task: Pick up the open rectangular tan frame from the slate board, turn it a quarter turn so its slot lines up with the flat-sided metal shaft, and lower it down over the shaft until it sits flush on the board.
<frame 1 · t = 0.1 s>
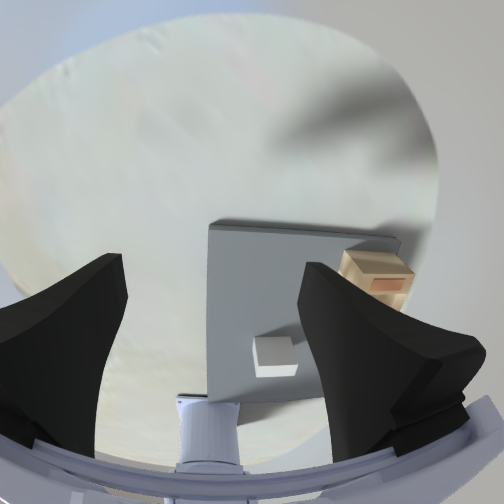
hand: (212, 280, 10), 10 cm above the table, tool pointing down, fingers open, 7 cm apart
board: (289, 335, 26), on the table
open rectangular tan frame: (357, 291, 23), point 1 cm above the table, touching board
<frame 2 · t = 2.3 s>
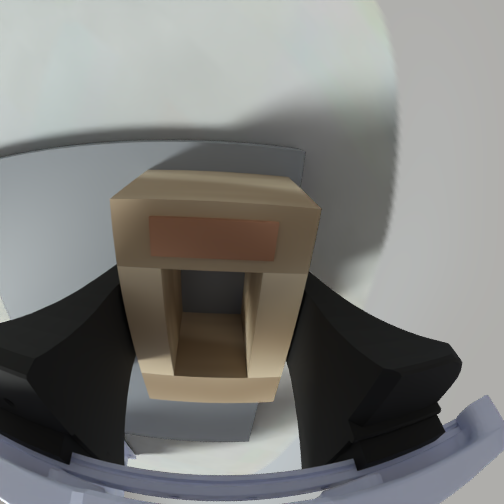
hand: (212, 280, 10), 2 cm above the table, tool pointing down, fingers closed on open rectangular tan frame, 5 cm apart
board: (126, 346, 14), on the table
open rectangular tan frame: (212, 271, 11), point 1 cm above the table, touching board, gripper
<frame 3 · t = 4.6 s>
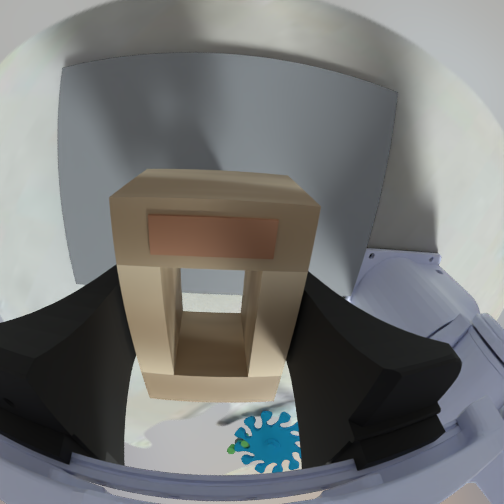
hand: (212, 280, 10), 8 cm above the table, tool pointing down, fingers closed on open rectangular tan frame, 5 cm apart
board: (218, 180, 17), on the table
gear: (264, 420, 32), on the table
open rectangular tan frame: (212, 270, 11), point 8 cm above the table, touching gripper
when the fingers open (3 cm above the table, at t = 7.1 s): open rectangular tan frame stays where it is, resting on board.
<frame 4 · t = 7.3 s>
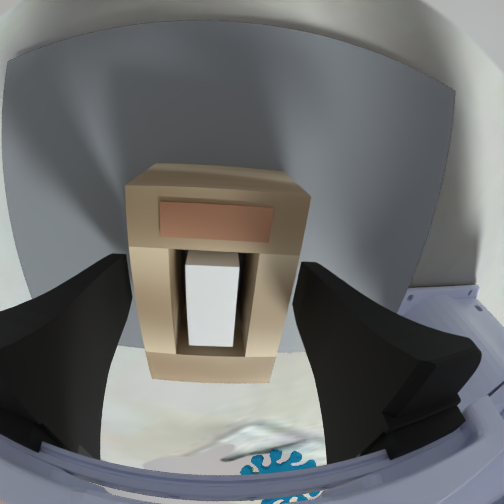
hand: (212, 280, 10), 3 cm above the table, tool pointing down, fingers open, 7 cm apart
board: (215, 207, 12), on the table
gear: (272, 456, 27), on the table
open rectangular tan frame: (213, 258, 12), point 1 cm above the table, touching board
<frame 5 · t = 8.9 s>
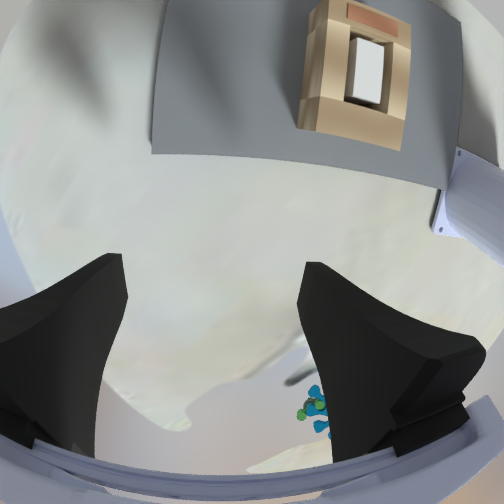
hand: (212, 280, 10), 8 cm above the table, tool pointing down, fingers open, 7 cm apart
board: (338, 52, 13), on the table
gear: (336, 377, 29), on the table
open rectangular tan frame: (342, 76, 13), point 1 cm above the table, touching board
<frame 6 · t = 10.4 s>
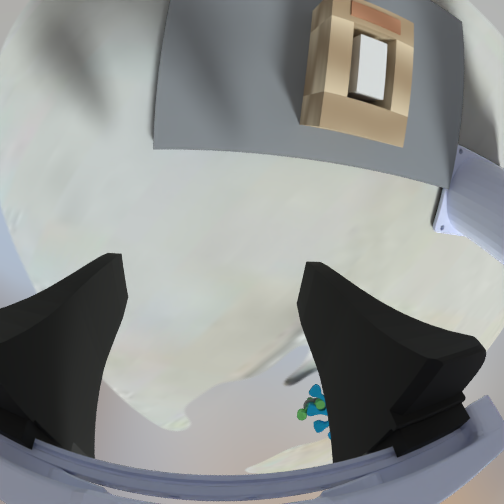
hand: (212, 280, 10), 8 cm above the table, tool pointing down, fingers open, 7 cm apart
board: (341, 49, 13), on the table
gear: (336, 377, 29), on the table
open rectangular tan frame: (345, 73, 13), point 1 cm above the table, touching board
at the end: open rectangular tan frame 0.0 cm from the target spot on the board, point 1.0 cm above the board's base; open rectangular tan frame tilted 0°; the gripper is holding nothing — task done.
